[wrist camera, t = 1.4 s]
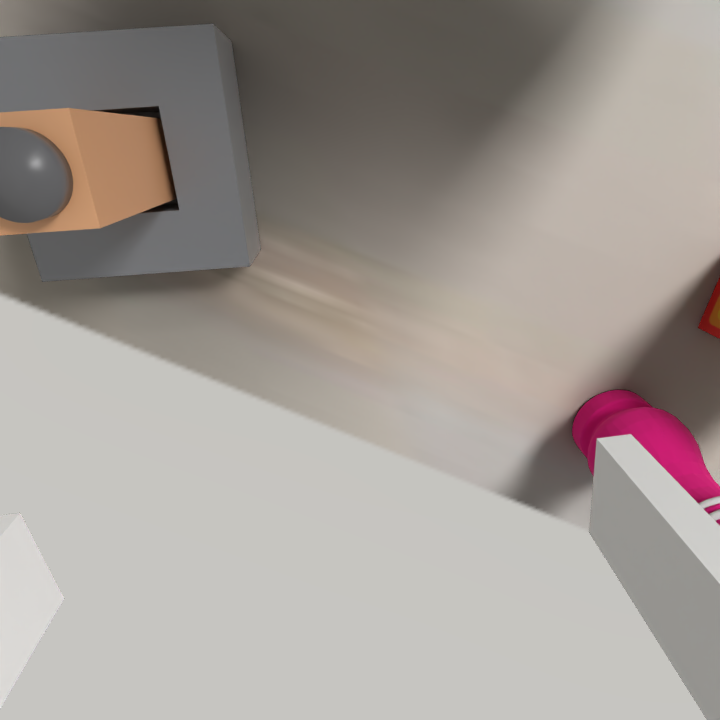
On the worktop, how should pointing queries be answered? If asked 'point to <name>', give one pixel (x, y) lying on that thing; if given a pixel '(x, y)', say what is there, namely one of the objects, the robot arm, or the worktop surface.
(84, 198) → the plug
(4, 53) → the grey square socket block
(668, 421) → the pepper mill
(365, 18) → the worktop surface
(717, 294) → the baking soda box
